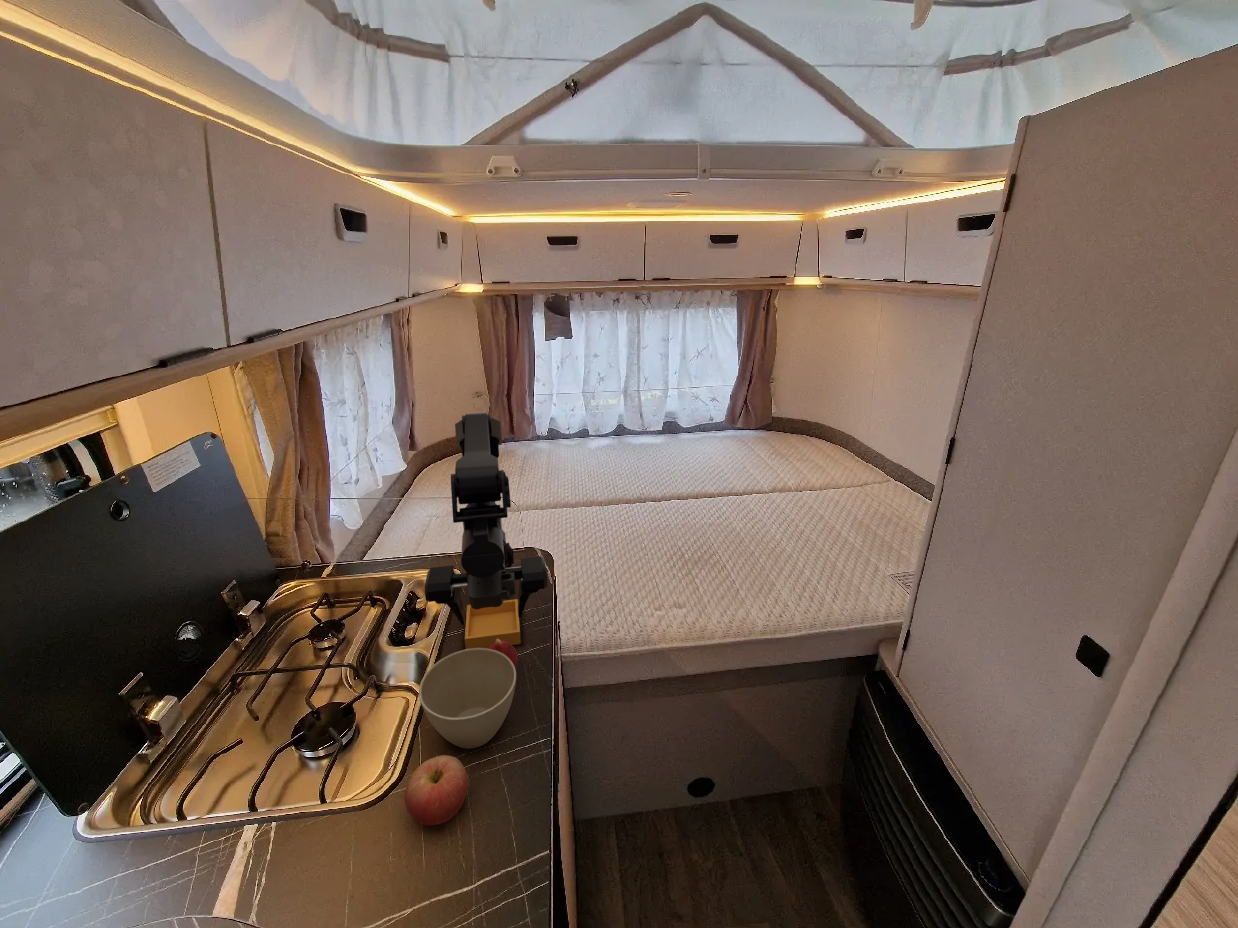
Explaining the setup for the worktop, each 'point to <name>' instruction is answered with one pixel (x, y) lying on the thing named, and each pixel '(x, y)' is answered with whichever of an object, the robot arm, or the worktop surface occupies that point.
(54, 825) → the worktop surface
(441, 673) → the flower pot
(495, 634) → the amber tray
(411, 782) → the apple
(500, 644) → the onion
